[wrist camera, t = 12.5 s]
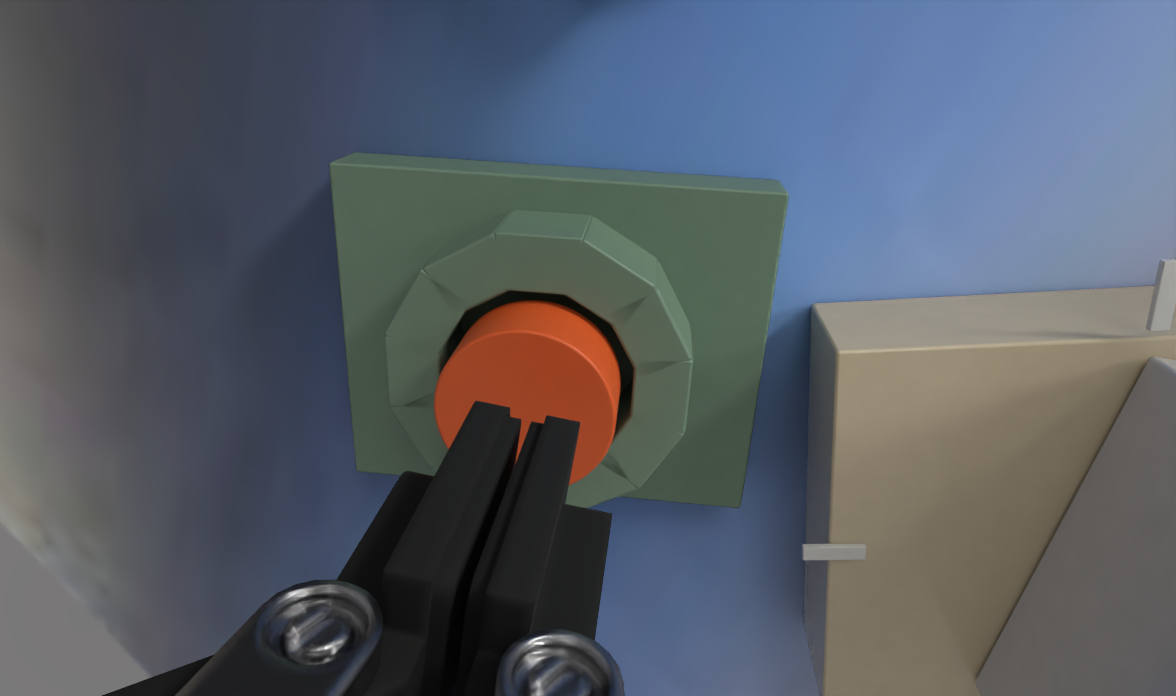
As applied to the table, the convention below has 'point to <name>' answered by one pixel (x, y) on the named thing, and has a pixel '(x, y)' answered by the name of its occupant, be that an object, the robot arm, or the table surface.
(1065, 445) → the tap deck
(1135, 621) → the grey block
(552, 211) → the button box
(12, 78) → the table surface
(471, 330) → the button
